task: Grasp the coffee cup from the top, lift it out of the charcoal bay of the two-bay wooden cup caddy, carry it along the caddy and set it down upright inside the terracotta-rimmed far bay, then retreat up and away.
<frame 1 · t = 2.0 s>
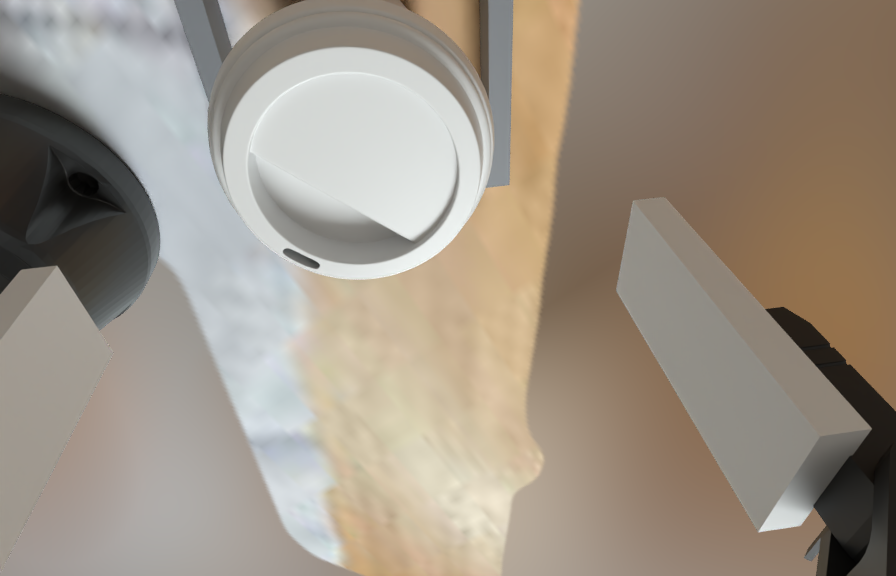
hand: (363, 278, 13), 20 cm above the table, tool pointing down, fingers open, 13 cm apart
coffee cup: (358, 48, 28), resting in cup caddy
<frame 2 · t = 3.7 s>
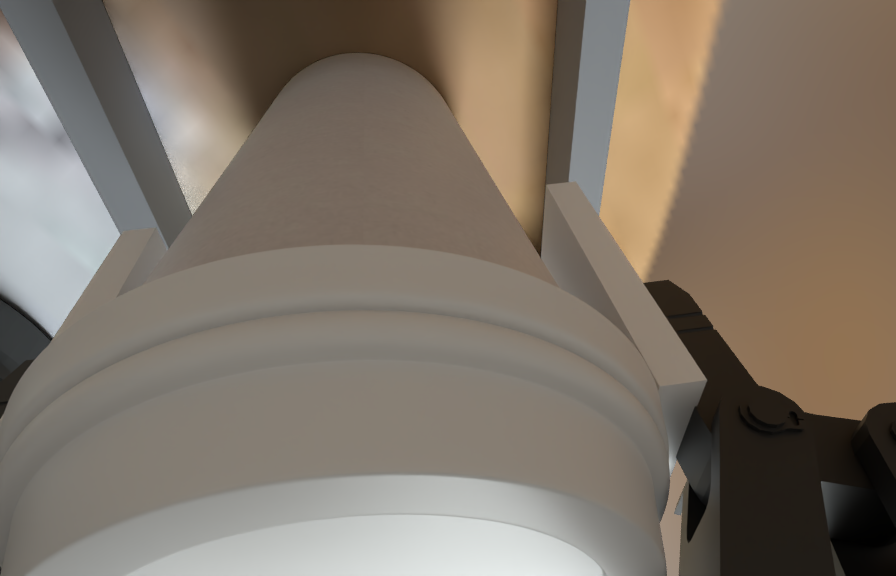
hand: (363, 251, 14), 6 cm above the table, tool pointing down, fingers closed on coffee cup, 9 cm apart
coffee cup: (364, 148, 19), resting in cup caddy, touching gripper
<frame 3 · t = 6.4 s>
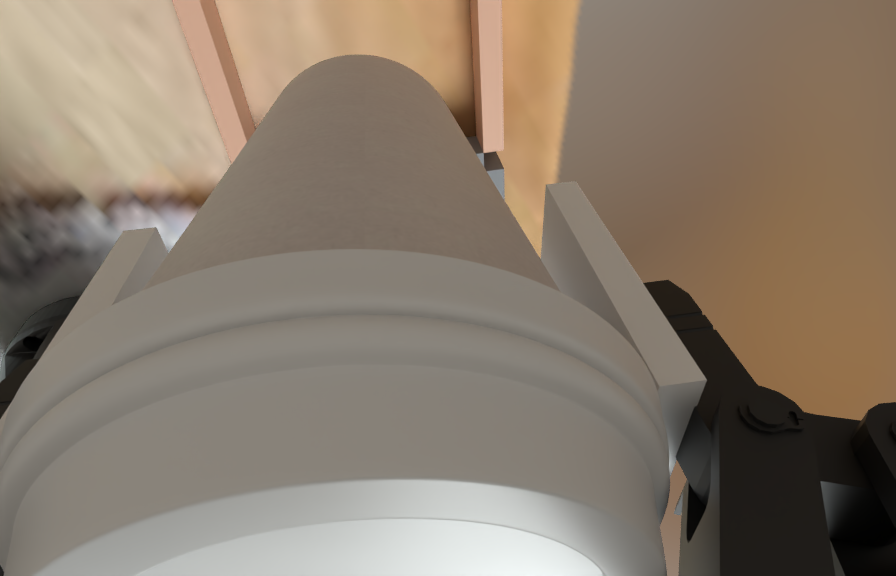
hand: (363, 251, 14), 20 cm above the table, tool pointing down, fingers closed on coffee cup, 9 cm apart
cup caddy: (374, 158, 33), on the table
coffee cup: (364, 150, 19), point 14 cm above the table, touching gripper
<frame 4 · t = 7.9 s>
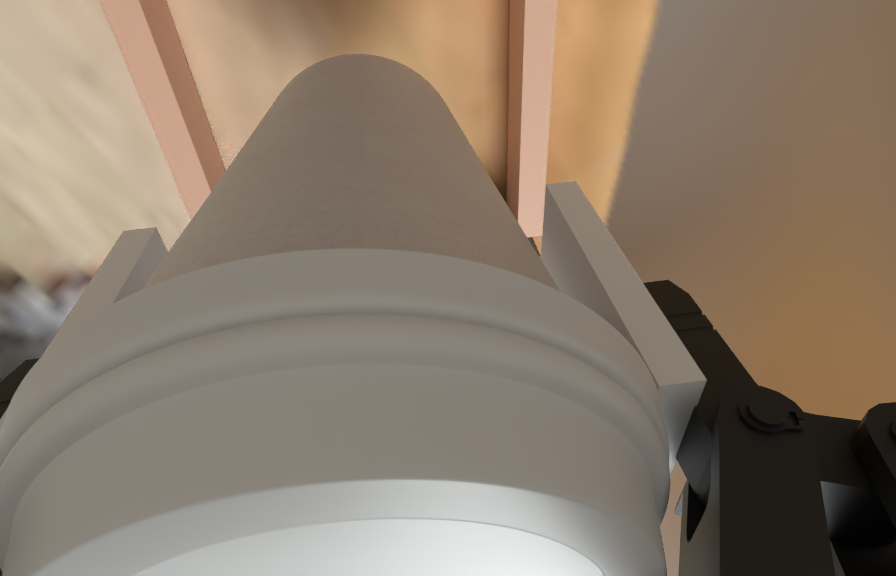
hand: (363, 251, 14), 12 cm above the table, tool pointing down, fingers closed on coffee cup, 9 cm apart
cup caddy: (381, 236, 27), on the table
coffee cup: (364, 150, 19), point 5 cm above the table, touching gripper
when the fingers open (8 cm above the table, at t = 9.2 s): coffee cup drops 1 cm, resting in cup caddy.
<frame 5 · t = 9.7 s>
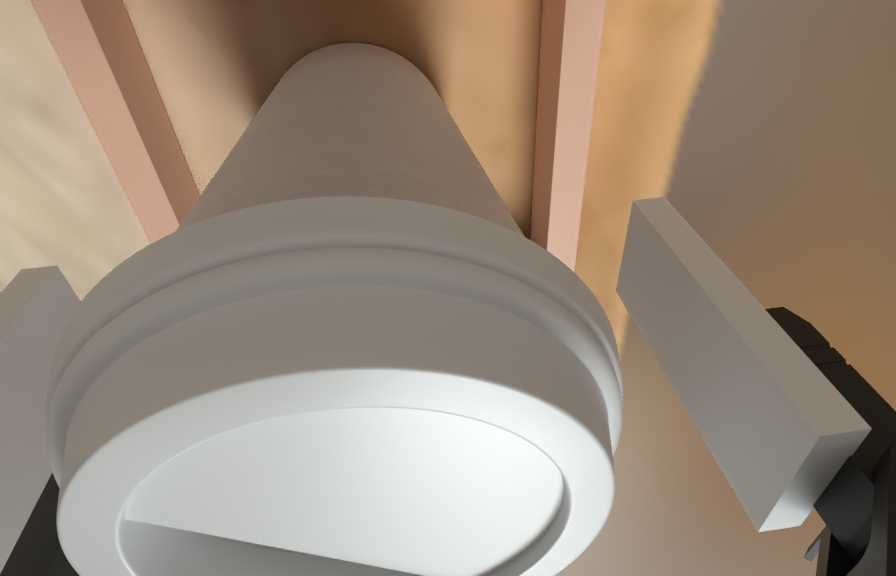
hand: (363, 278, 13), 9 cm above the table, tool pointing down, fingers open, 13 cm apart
cup caddy: (387, 285, 24), on the table
coffee cup: (359, 134, 20), resting in cup caddy
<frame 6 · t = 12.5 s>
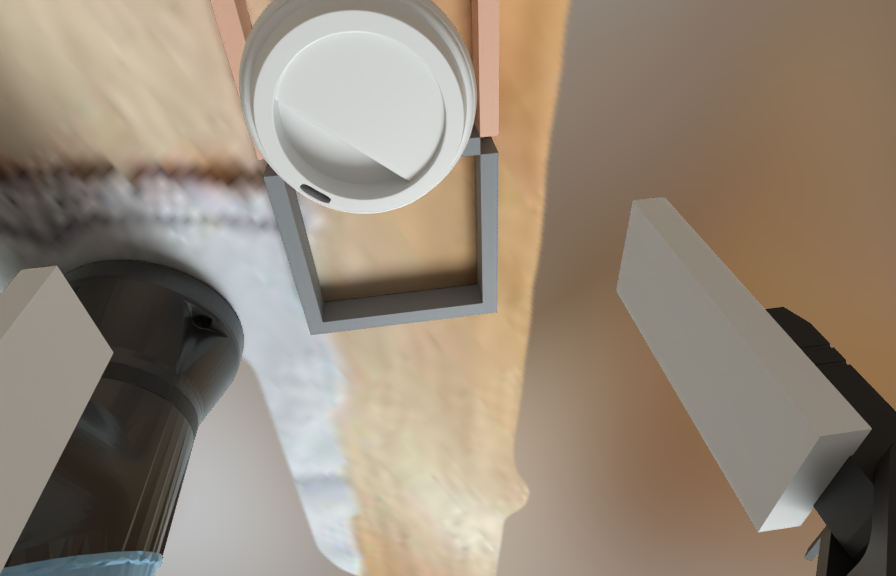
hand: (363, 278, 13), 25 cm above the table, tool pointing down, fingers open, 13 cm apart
cup caddy: (380, 140, 36), on the table
coffee cup: (362, 27, 32), resting in cup caddy
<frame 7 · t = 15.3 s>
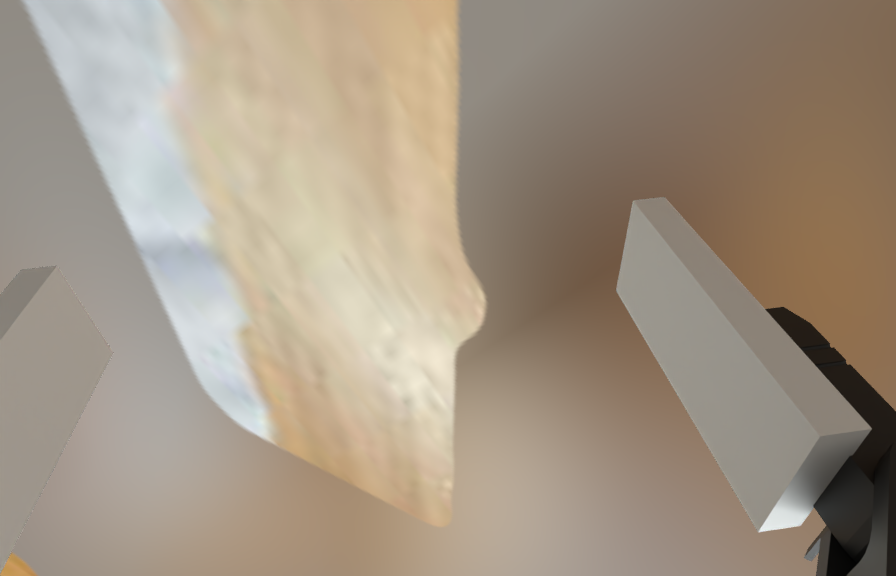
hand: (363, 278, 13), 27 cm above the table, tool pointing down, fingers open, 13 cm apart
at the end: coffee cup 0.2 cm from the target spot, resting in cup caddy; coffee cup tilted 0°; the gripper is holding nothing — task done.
